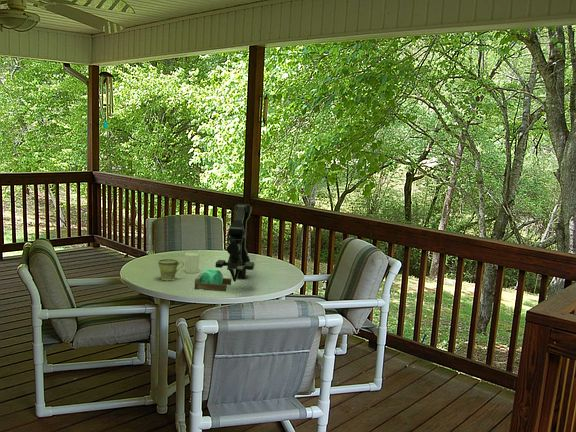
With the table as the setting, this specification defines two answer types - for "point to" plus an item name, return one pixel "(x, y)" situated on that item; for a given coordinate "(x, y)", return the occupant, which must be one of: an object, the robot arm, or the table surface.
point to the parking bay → (212, 286)
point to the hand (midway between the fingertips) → (234, 281)
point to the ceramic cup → (168, 268)
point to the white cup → (191, 262)
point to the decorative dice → (212, 277)
